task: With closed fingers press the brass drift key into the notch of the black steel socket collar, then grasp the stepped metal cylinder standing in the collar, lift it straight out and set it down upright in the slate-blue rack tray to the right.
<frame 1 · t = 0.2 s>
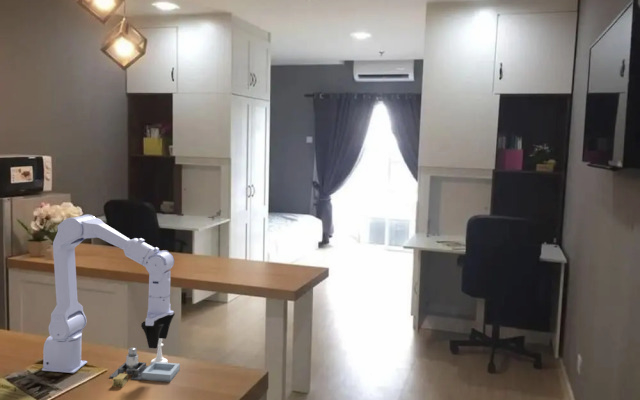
hand: (157, 342, 153), 10 cm above the table, tool pointing down, fingers open, 7 cm apart
stepped metal cylinder: (132, 360, 155), in the socket
drift key: (120, 379, 148), point 1 cm above the table, slide at 0.0 cm
chess piece: (159, 363, 163), on the table
socket: (132, 372, 156), on the table
rack tray: (161, 374, 155), on the table
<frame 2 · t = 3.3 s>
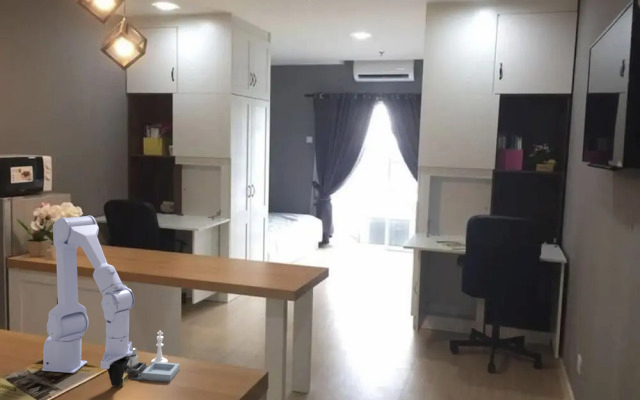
hand: (116, 384, 145), 1 cm above the table, tool pointing down, fingers closed
drift key: (121, 379, 148), point 1 cm above the table, slide at 0.2 cm, touching gripper
everything else where it was.
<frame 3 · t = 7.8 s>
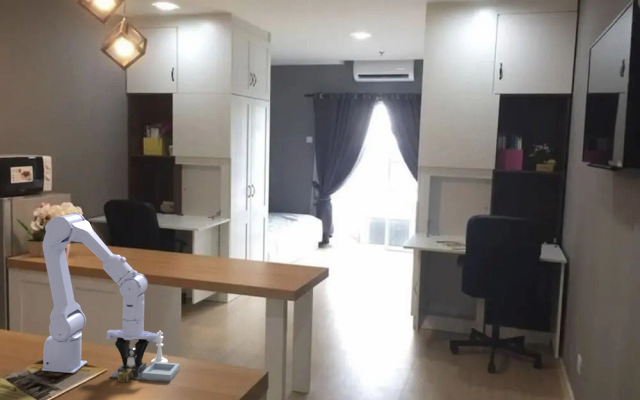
hand: (132, 364, 156), 2 cm above the table, tool pointing down, fingers closed on stepped metal cylinder, 3 cm apart
stepped metal cylinder: (132, 360, 155), in the socket, touching gripper
drift key: (126, 374, 152), point 1 cm above the table, slide at 3.3 cm
everything else where it was.
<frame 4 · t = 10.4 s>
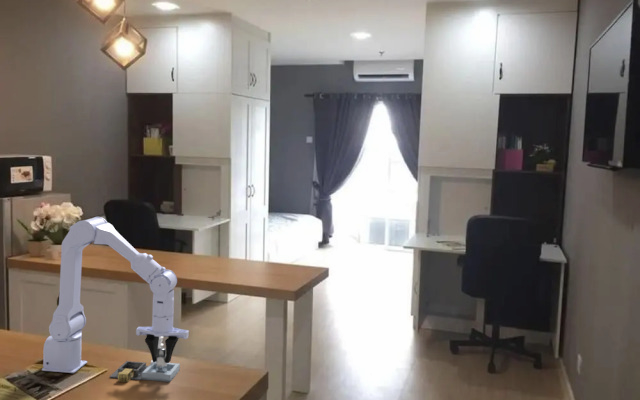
hand: (161, 361, 155), 4 cm above the table, tool pointing down, fingers closed on stepped metal cylinder, 3 cm apart
stepped metal cylinder: (161, 360, 155), in the rack tray, point 4 cm above the table, touching gripper
everything else where it was.
when the fingers open (4 cm above the table, at t = 10.7 s): stepped metal cylinder stays where it is, resting on rack tray.
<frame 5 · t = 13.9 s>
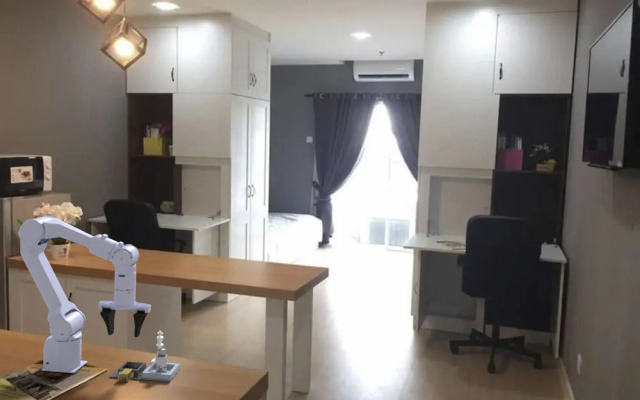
hand: (124, 335, 156), 10 cm above the table, tool pointing down, fingers open, 7 cm apart
stepped metal cylinder: (161, 360, 155), in the rack tray, point 4 cm above the table
everything else where it was.
at the end: drift key slide at 3.3 cm; stepped metal cylinder 0.0 cm off-centre on the rack tray, point 4.1 cm above the rack tray's base; stepped metal cylinder tilted 0° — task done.
